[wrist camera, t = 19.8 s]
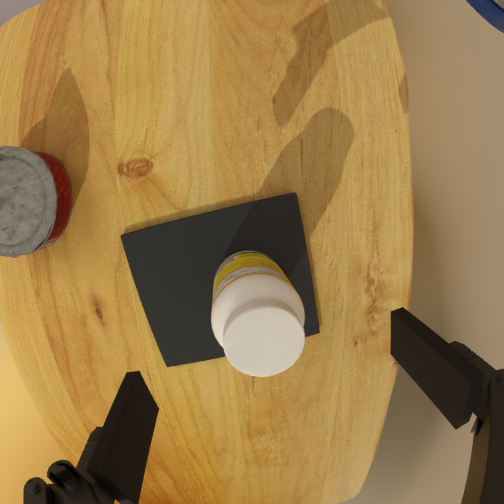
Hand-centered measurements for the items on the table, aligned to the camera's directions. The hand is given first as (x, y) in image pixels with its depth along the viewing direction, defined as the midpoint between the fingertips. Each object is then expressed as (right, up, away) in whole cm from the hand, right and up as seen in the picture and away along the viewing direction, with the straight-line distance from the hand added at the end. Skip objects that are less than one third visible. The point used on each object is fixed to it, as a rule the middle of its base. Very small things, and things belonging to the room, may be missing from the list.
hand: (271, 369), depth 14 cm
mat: (-4, +2, +14) cm, 14 cm away
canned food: (-23, +11, +10) cm, 27 cm away
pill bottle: (-1, +3, +13) cm, 14 cm away
